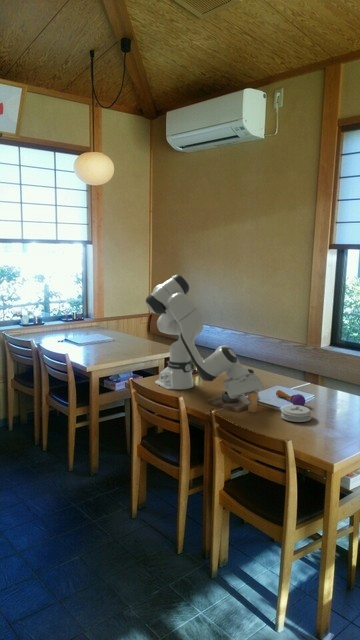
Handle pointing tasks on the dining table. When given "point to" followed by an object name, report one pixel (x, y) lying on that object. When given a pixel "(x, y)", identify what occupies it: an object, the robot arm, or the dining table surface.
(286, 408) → the lid
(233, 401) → the grey stone bowl
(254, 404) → the plug
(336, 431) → the dining table surface
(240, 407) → the board
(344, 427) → the dining table surface
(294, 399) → the kendama
